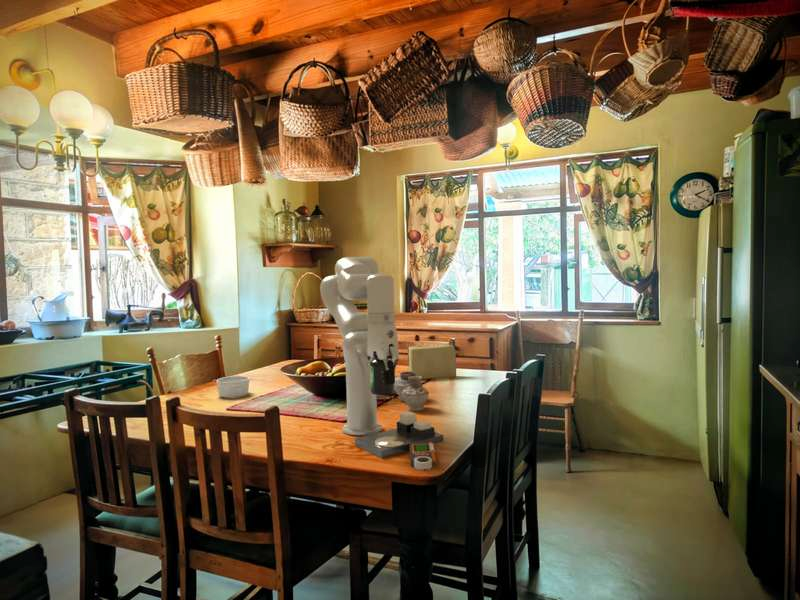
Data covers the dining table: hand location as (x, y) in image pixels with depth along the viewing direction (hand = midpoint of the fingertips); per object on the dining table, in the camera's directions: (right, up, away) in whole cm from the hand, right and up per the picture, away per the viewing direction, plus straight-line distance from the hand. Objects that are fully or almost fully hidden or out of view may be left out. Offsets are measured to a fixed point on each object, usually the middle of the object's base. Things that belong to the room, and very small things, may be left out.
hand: (382, 381), depth 149 cm
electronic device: (+11, -21, -7) cm, 24 cm away
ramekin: (-65, -17, +72) cm, 98 cm away
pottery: (+9, -17, +52) cm, 55 cm away
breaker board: (+5, -19, +6) cm, 21 cm away
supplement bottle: (0, -3, 0) cm, 3 cm away
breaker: (+7, -15, +13) cm, 21 cm away
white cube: (+12, -17, +7) cm, 21 cm away
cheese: (+21, -14, +101) cm, 104 cm away
